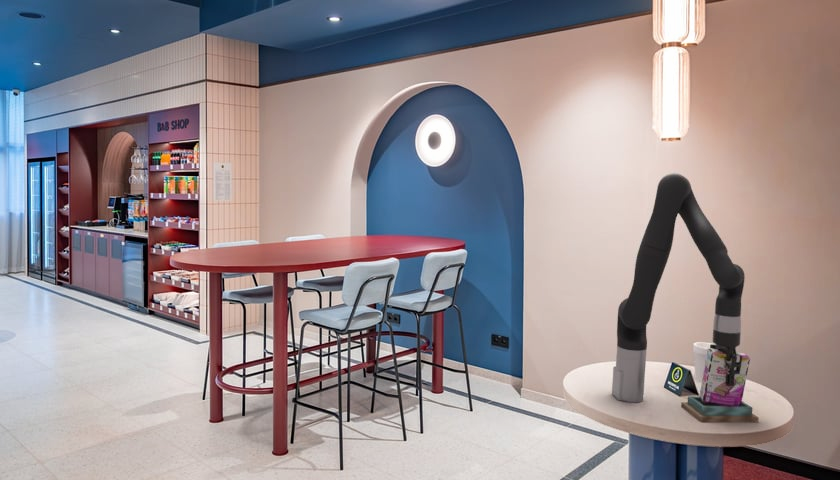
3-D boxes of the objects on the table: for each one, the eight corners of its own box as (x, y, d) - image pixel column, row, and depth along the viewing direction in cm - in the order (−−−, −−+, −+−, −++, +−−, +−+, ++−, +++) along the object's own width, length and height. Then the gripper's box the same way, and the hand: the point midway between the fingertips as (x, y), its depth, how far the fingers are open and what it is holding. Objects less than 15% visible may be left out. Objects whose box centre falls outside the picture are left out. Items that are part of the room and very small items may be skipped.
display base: (700, 421, 181) (701, 409, 180) (681, 406, 193) (682, 394, 192) (758, 422, 182) (759, 409, 181) (735, 407, 194) (736, 395, 193)
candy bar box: (703, 403, 185) (711, 352, 183) (698, 397, 190) (706, 347, 188) (741, 409, 183) (750, 357, 181) (736, 403, 188) (745, 352, 186)
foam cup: (686, 379, 220) (689, 345, 218) (696, 374, 226) (699, 340, 225) (713, 386, 213) (716, 350, 212) (723, 381, 219) (726, 346, 218)
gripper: (752, 334, 177) (749, 390, 179) (725, 323, 192) (722, 374, 193) (728, 335, 177) (725, 390, 179) (702, 323, 191) (700, 375, 193)
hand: (723, 382), depth 186 cm, fingers closed on candy bar box, 5 cm apart
